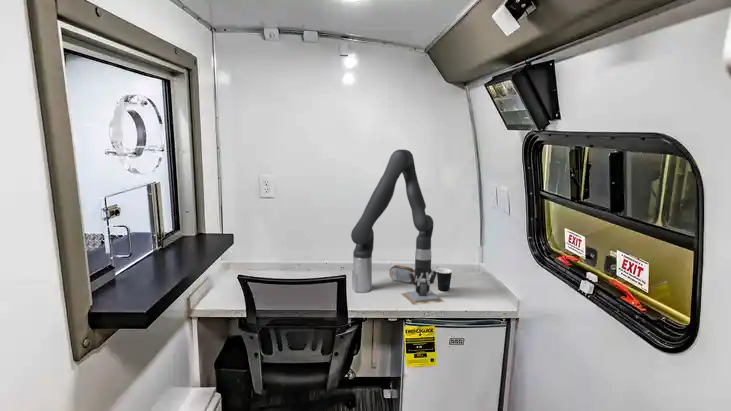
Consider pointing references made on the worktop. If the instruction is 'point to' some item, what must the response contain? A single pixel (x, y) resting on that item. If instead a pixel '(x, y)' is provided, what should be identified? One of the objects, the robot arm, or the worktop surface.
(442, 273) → the dixie cup
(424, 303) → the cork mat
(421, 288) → the lid
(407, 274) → the tin
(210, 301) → the worktop surface
